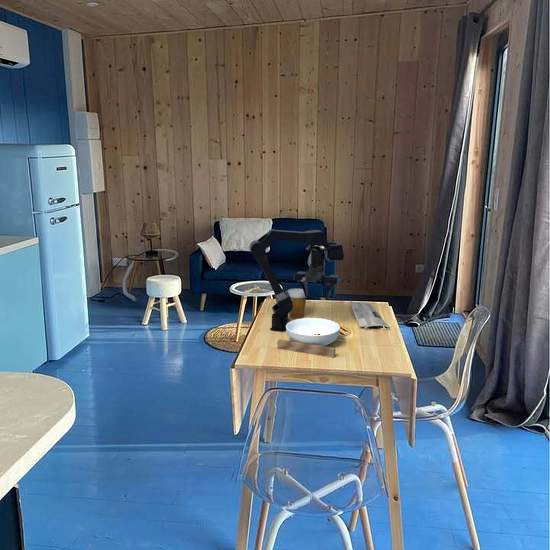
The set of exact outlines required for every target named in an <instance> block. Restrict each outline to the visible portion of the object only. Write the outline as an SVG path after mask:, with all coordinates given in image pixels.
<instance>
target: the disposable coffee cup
mask: <svg viewBox="0 0 550 550" xmlns="http://www.w3.org/2000/svg"><path fill="white" fill-rule="evenodd" d="M287 291H288V293H289V294H290V297H291V299H292V300H293V303H292V304H293V309H292V310H291V311H290V312H289V314H288V316H289V318H291V319H293V320H296V319H301V318H305V317H304V316H305V310H306V309H305V308H306V303H307V302H306V301H307V297H305V294H304V291H303V288H289V289H287ZM308 295H309V294H307V296H308Z"/></svg>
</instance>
